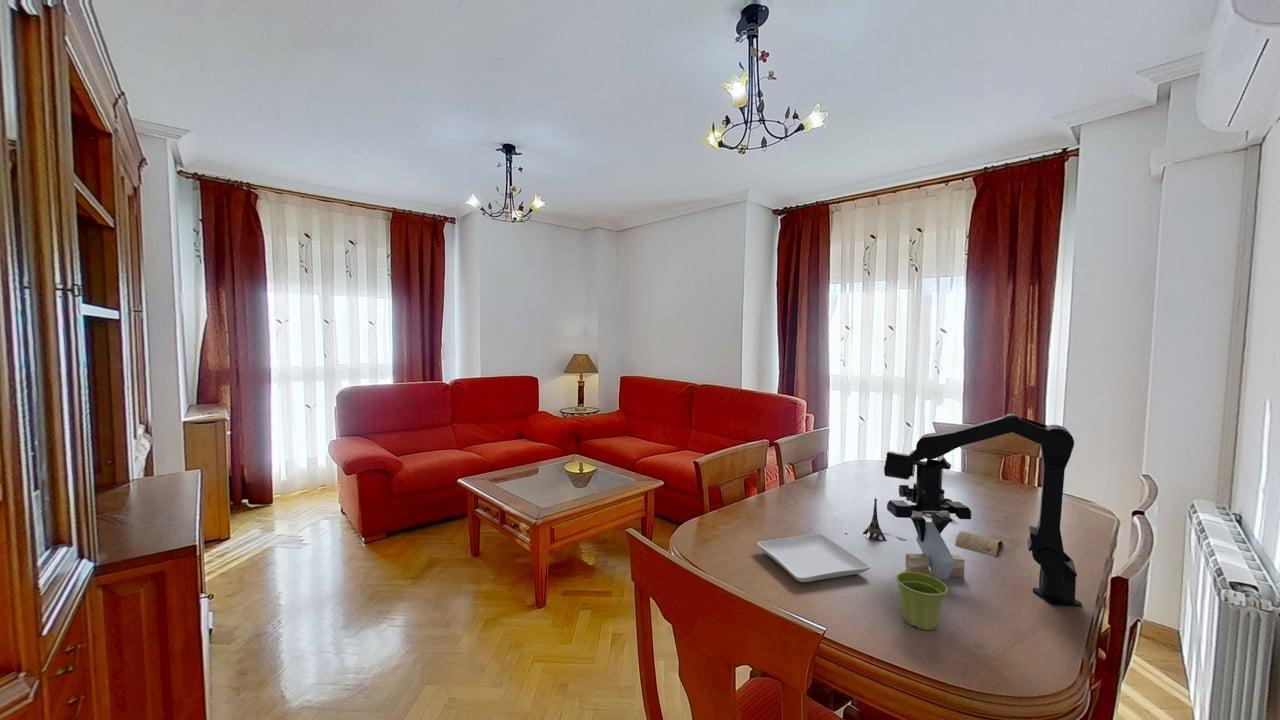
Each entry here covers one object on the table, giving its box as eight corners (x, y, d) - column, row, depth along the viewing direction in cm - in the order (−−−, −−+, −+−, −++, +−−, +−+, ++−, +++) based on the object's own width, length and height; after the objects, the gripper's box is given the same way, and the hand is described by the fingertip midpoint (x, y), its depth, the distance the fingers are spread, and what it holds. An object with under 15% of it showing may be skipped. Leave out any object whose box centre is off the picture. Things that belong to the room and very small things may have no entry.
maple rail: (964, 577, 122) (964, 559, 122) (910, 575, 123) (910, 557, 123) (958, 572, 125) (958, 554, 124) (905, 570, 126) (905, 553, 125)
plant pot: (927, 609, 108) (929, 571, 107) (956, 635, 98) (958, 593, 98) (886, 610, 108) (887, 571, 107) (911, 636, 98) (912, 594, 98)
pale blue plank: (947, 580, 120) (955, 562, 117) (936, 580, 121) (944, 562, 117) (926, 539, 131) (933, 522, 127) (916, 539, 131) (922, 521, 127)
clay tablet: (996, 560, 132) (996, 550, 132) (953, 548, 139) (953, 539, 139) (1003, 543, 143) (1003, 534, 143) (962, 534, 150) (963, 525, 150)
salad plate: (798, 591, 116) (798, 577, 116) (754, 552, 137) (754, 540, 136) (872, 579, 122) (873, 566, 121) (820, 544, 142) (820, 532, 142)
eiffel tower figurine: (909, 542, 144) (910, 497, 143) (895, 551, 137) (896, 505, 137) (858, 526, 155) (859, 485, 155) (843, 535, 149) (844, 492, 148)
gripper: (949, 474, 134) (947, 530, 135) (879, 473, 135) (877, 528, 136) (973, 487, 123) (971, 547, 124) (897, 485, 124) (895, 545, 125)
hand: (927, 541), depth 127 cm, fingers closed on pale blue plank, 3 cm apart
